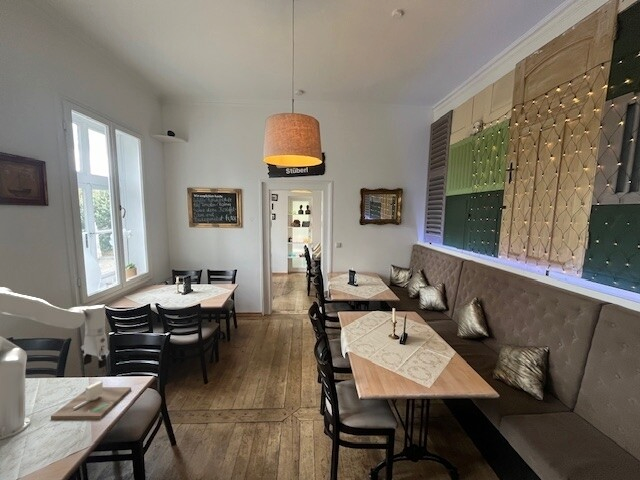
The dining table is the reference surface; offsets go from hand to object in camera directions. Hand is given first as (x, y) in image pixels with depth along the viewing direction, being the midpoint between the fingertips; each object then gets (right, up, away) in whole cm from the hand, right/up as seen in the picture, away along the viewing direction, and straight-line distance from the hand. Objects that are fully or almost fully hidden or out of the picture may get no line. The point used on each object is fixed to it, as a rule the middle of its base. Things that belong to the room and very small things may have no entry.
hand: (94, 365), depth 132 cm
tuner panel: (0, -18, 0) cm, 19 cm away
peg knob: (-2, -17, -2) cm, 17 cm away
